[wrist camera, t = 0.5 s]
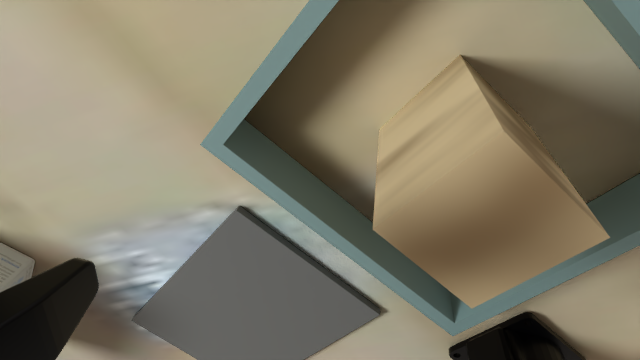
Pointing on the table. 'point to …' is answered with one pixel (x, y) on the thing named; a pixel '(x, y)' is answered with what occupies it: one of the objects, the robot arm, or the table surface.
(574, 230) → the tan wooden block
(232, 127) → the crate
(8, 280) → the light bulb box
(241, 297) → the mat
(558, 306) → the table surface
